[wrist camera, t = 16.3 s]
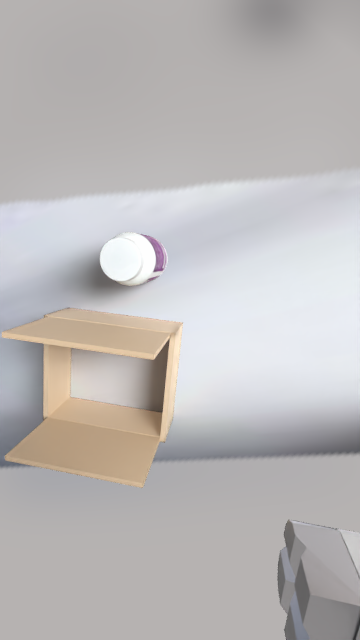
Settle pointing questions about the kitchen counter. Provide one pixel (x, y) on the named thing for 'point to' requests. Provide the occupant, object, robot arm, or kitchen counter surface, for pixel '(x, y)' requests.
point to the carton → (90, 416)
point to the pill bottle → (133, 258)
